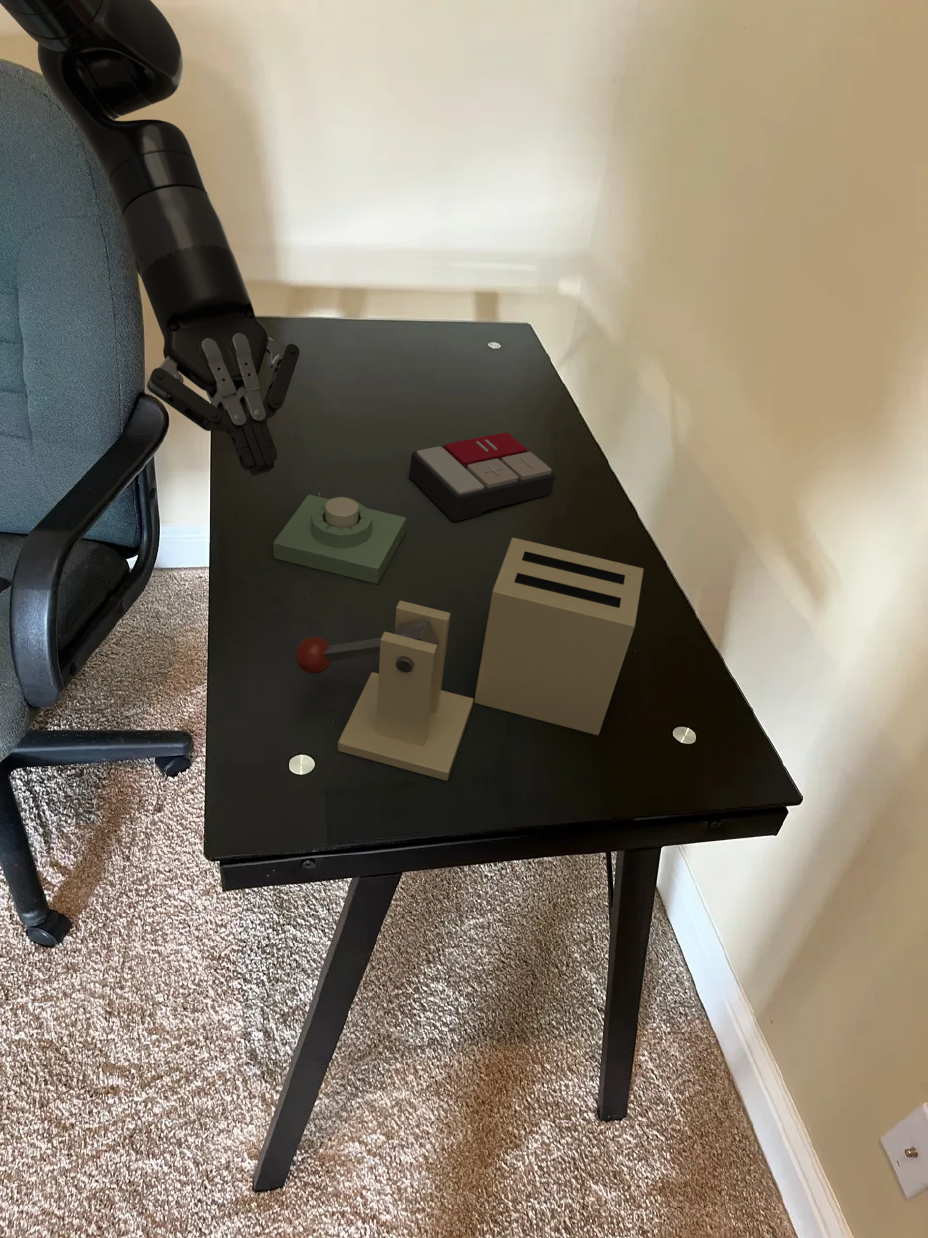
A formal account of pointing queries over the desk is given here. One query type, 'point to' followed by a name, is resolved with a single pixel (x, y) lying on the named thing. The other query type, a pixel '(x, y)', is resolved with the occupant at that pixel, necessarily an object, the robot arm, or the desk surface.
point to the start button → (341, 512)
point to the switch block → (340, 541)
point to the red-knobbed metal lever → (354, 647)
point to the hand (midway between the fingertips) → (263, 471)
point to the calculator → (480, 475)
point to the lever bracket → (409, 703)
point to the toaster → (557, 635)
